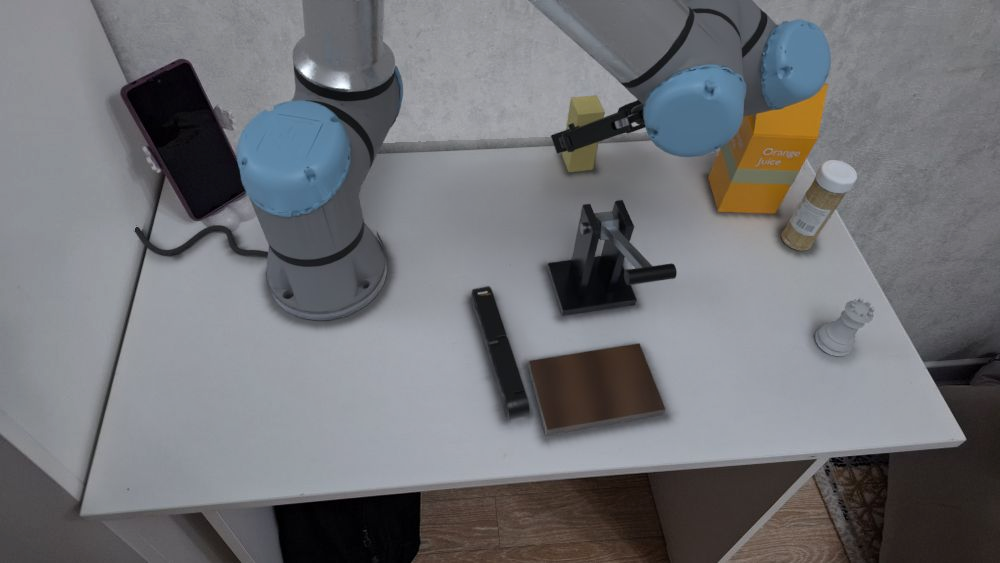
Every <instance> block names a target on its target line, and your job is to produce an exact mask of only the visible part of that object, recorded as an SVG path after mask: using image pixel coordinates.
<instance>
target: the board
mask: <svg viewBox="0 0 1000 563" xmlns="http://www.w3.org/2000/svg"><path fill="white" fill-rule="evenodd" d="M527 368H528V373H529V376H530V380H531V383H532V387H533V391H534V396H535V399H536V403H537V406H538V411H539V414H540V419H541V423H542V427H543V430H544V434H545V436H550V435H551V436H552V435H557V434H563V433H569V432H573V431H580V430H585V429H591V428H596V427H602V426H607V425H612V424H620V423H624V422H630V421H636V420H642V419H648V418H652V417H658V416H663V414H664V413H665V411H666V407H665V405H664V402H663V399H662V396H661V395H660V392H659V389H658V386H657V384H656V382H655V379H654V376H653V374H652V372H651V369H650V366H649V364H648V360H647V359H646V356H645V354H644V351H643V348H642V346H641V344H640V343H634V344H633V343H632V344H627V345H621V346H620V345H619V346H614V347H608V348H601V349H593V350H589V351H582V352H576V353H569V354H563V355H562V354H561V355H557V356H551V357H550V356H549V357H544V358H537V359H531V360H529V361H528V365H527Z"/></svg>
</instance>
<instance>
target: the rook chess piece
mask: <svg viewBox="0 0 1000 563" xmlns="http://www.w3.org/2000/svg"><path fill="white" fill-rule="evenodd" d="M871 305H872V303H871V302H870V301H869V300H867V301H866V302H864V298H860V297H859V298H858V299H857V298H855V299H853V300H848V301H847V302H846V303H845V305H844V309H843V310H842V311H841V313H840V316H839V317H838V318H837V319H836V320H832V321H830V322H825V323H824V324H822V325H821V326H820V327H819V328H818V329H817V330H816V332H815V335H814V338H815V342H816V344H817V345H818V348H819V349H820V350H822V351H823V353H826V354H828V355H829V356H835V357H843V356H844V357H845V356H846V355H848V354H849V353H850V352H851V351H852V349H854V346H855V343H856V334H857V333H858V330H859V329H862V328H863V327H865V324H867V323H870V322H872V321H873V319H874V312H875V307H874V306H871Z"/></svg>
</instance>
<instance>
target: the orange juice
mask: <svg viewBox="0 0 1000 563" xmlns="http://www.w3.org/2000/svg"><path fill="white" fill-rule="evenodd" d="M828 87H829V83H825V84H824V85H823V87H822V88H821V90H820V91H819V92H818V93H817V94H816V95H814V96H813V97H811V98H809V99H807V100H804V101H801V102H799V103H796V104H793V105H790V106H787V107H784V108H783V109H780V110H771V111H767V112H762V113H758V114H753V115H749V116H745V117H743V120H742V123H741V126H740V128H739V130H738V132H737V133H736V135H735V136H734V137H733V138H732V139H731V140H730V141H729V142H728V143H727V144H726V145H724V146H723V147H722V148H720V149H718V153H717V155H716V157H715V160H714V162H713V164H712V166H711V169H710V171H709V174H708V177H707V178H708V182H709V186H710V188H711V192H712V196H713V199H714V204H715V206H716V210H717V212H718V213H741V214H742V213H743V214H744V213H746V214H772V215H775V214H776V213H777V212H778V209H779V208H780V206H781V205H782V203H783V201H784V199H785V197H786V196H787V194H788V193H789V190H790V189H791V187H792V185H793V184H794V182H795V180H796V179H797V177H798V175H799V173H800V172H801V169H802V167H803V165H804V164H805V163H806V160H807V159H808V157H809V155H810V154H811V151H812V150H813V148H814V146H815V145H816V143H817V141H818V139H819V134H820V129H821V123H822V118H823V114H824V108H825V102H826V98H827V93H828Z"/></svg>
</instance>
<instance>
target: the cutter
mask: <svg viewBox="0 0 1000 563" xmlns="http://www.w3.org/2000/svg"><path fill="white" fill-rule="evenodd" d="M611 212H612V213H613V214H614V215H615V216H616V217H617V218H618V219H619V231H620V232H621V233H622V234H623V235H624V237H625V238H626V239H627V240H628V241H629V242H630V243H631V239H632V236H633V232H634V228H635V224H634V221H633V220H632V218H631V215H630V213H629V211H628V208H627V206H626V204H625V201H624V200H623V199H618V200H614V204H613V207H612V210H611ZM594 213H595V211H594V209H593V206H592V204H591V203H585V204H582V206H581V212H580V216H579V221H578V225H577V230H576V236H575V239H574V240H575V241H574V246H573V251H572V256H571V259H568V260H567V259H565V260H560V261H559V260H558V261H552V262H547V265H546V270H547V273H548V276H549V279H550V283H551V286H552V289H553V292H554V295H555V299H556V301H557V306H558V308H559V311H560V314H561V316H562V317H563V316H570V315H577V314H583V313H585V314H586V313H591V312H598V311H604V310H610V309H619V308H624V307H632V306H635V305H636V303H637V297H636V294H635V292H634V289H633V287H632V285H627V284H626V282H625V279H624V272H625V270H626V269H625V267H624V261H625V259H626V257H625V256H624V255H623V254H622V253H621V252H620V251H619V249H618V248H617V247H616V246H615V245H614V244H613V243H612V242H611V240H610V239H609V240H603V241H604V242H603V245H602V249H601V251H600V252H601V253H600V255H597V256H596V253H597V249H598V246H599V242H600V239H599V238H600V234H601V229H600V226H599V224H598V221H597V219H596V216H595V214H594Z"/></svg>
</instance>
